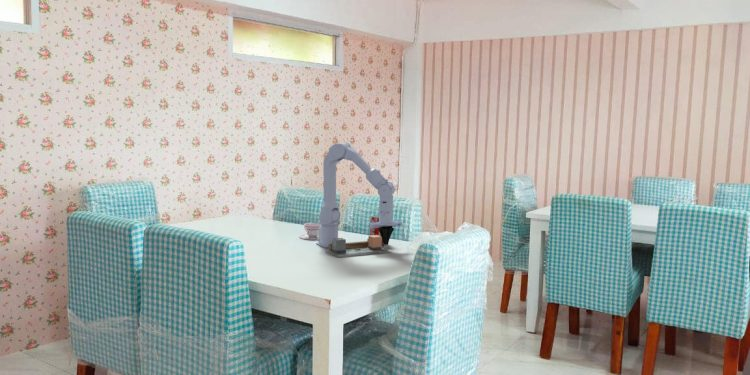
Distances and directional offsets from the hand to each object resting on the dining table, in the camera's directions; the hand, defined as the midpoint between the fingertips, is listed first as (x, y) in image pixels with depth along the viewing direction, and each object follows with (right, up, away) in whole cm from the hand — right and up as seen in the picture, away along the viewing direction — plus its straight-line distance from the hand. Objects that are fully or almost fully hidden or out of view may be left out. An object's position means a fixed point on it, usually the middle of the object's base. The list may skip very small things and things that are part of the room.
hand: (385, 244), depth 263 cm
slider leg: (-5, -1, -1) cm, 5 cm away
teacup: (-33, +1, +26) cm, 42 cm away
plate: (-12, -3, -6) cm, 13 cm away
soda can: (-3, -1, +13) cm, 14 cm away
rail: (-14, -2, -1) cm, 14 cm away
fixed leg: (-19, -2, -8) cm, 21 cm away
